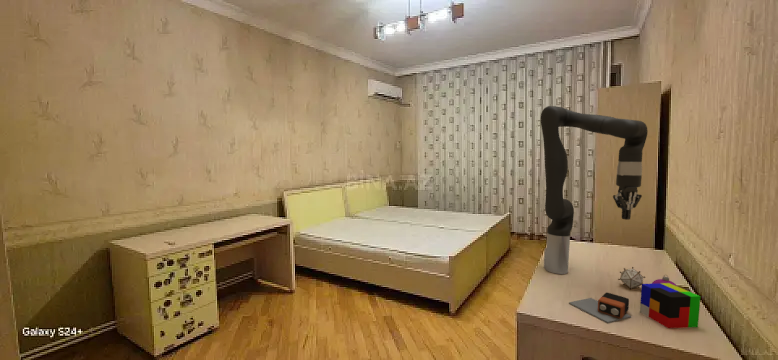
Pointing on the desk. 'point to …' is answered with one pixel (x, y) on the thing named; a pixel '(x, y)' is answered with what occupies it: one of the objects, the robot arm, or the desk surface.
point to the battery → (613, 305)
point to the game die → (631, 278)
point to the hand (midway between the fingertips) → (625, 219)
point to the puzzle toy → (670, 305)
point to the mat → (595, 310)
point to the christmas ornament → (664, 281)
